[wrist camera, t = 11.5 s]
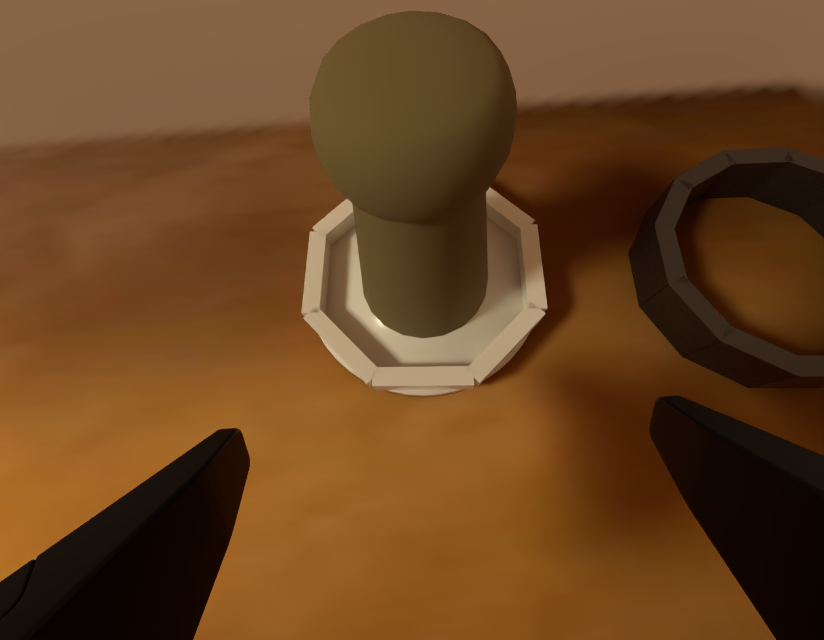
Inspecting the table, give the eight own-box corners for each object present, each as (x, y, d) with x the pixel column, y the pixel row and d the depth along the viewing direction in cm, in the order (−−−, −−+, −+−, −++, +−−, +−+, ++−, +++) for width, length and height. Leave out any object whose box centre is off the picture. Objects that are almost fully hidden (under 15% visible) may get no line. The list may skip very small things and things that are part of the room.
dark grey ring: (915, 386, 17) (994, 374, 14) (656, 388, 17) (690, 377, 15) (827, 180, 20) (878, 143, 18) (615, 188, 21) (637, 154, 18)
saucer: (550, 396, 17) (562, 389, 16) (302, 398, 18) (288, 391, 16) (526, 187, 21) (534, 163, 19) (322, 195, 22) (312, 172, 20)
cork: (413, 204, 20) (387, -63, 10) (512, 265, 19) (605, 26, 8) (336, 290, 19) (213, 85, 9) (437, 364, 17) (436, 223, 7)
